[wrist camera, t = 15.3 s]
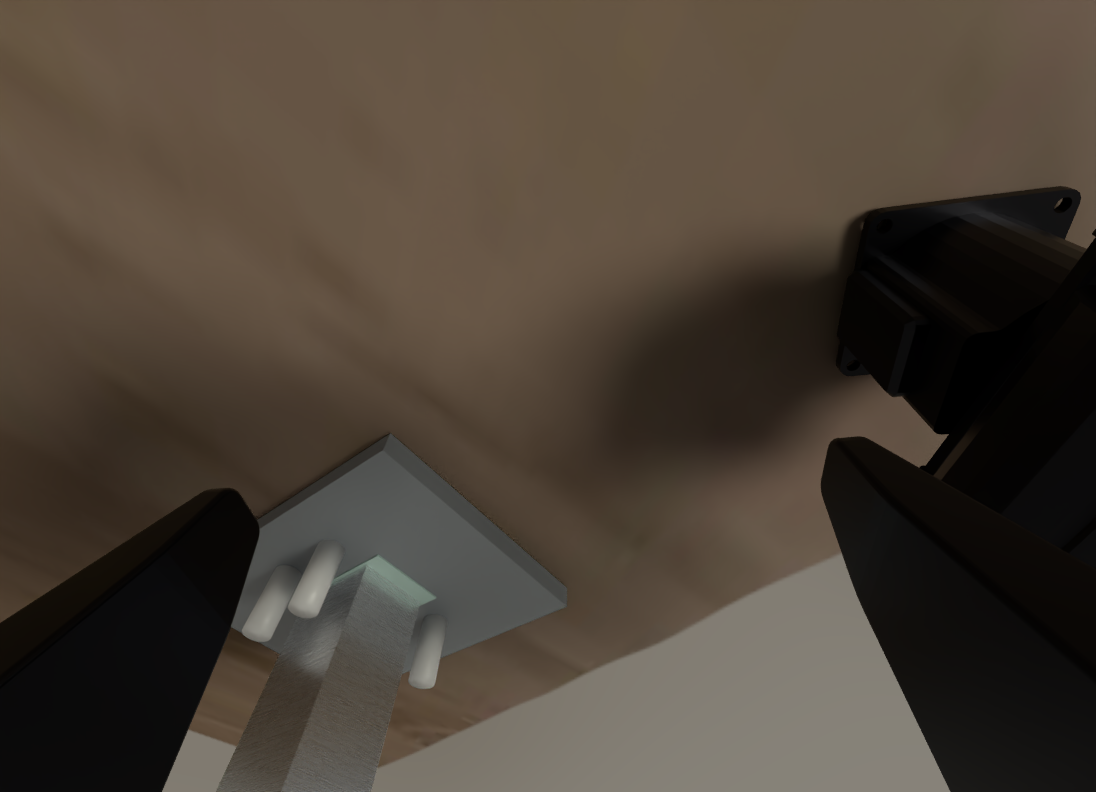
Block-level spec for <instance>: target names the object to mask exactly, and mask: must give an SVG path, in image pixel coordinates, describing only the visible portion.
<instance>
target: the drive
mask: <svg viewBox="0 0 1096 792" xmlns="http://www.w3.org/2000/svg"><path fill="white" fill-rule="evenodd" d="M419 606H420V602H419V601H417V600H416V599H414V598H413V597H412V596H410V595H409V594H407V593H406V592H405V591H403V590H402V589H400V588H399V587H398V586H396V585H395V584H393V583H392V582H391V581H389V580H388V579H386V578H385V577H384V576H382V575H381V574H379V573H378V572H377V571H375V570H374V569H372V568H371V567H370V566H368V565H366V566H364V567H362V568H360V569H358V570H356V571H354V572H352V573H350V574H349V575H347V576H345V577H343V578H341V579H339V580H337V581H335V582H333V583H331V586H330V588H329V590H328V593H327V595H326V597H325V600H324V602H323V604H322V606H321V609H320V611H319V613H318V615H317V616H316V617H314V618H301V617H298V616H297V618H296V620H295V622H294V625H293V627H292V629H291V631H290V633H289V635H288V638H287V640H286V642H285V644H284V646H283V648H282V650H281V653H280V655H279V657H278V659H277V661H276V663H275V665H274V668H273V670H272V672H271V674H270V676H269V678H268V681H267V683H266V685H265V687H264V689H263V691H262V693H261V696H260V698H259V700H258V702H257V704H256V706H255V709H254V711H253V713H252V715H251V717H250V719H249V721H248V724H247V726H246V728H245V730H244V732H243V734H242V737H241V739H240V741H239V743H238V745H237V747H236V749H235V752H234V754H233V756H232V758H231V760H230V762H229V765H228V767H227V769H226V771H225V773H224V775H223V777H222V780H221V782H220V784H219V786H218V788H217V790H216V792H371V789H372V785H373V782H374V778H375V774H376V771H377V767H378V763H379V759H380V755H381V751H382V748H383V744H384V740H385V736H386V732H387V728H388V724H389V721H390V717H391V713H392V709H393V705H394V701H395V698H396V694H397V690H398V686H399V682H400V678H401V675H402V671H403V667H404V663H405V659H406V655H407V652H408V648H409V644H410V640H411V636H412V632H413V629H414V625H415V621H416V617H417V613H418V609H419Z"/></svg>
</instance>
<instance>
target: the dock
mask: <svg viewBox="0 0 1096 792" xmlns="http://www.w3.org/2000/svg"><path fill="white" fill-rule="evenodd" d="M257 521H258V524H259V528H260V534H259V540H258V543H257V546H256V549H255V552H254V556H253V559H252V562H251V565H250V568H249V572H248V575H247V578H246V581H245V584H244V588H243V591H242V594H241V597H240V601H239V604H238V607H237V610H236V613H235V616H234V619H233V622H232V625H231V627H232V628H234V629H236V630H237V631H239V632H241V633H243V635H244V636H245V637H247V638H248V639H250V640H253V641H257V642H259V643H261V644H263V645H264V646H266V647H268V648H270V649H272V650H273V651H275V652H277V653H279V654H280V653H281V650H282V648H283V646H284V644H285V642H286V640H287V638H288V635H289V633H290V631H291V629H292V627H293V625H294V622H295V620H296V618H297V616H298V617H301V618H314V617H316V616H317V615H318V613H319V611H320V609H321V606H322V604H323V602H324V600H325V597H326V595H327V593H328V590H329V588H330V586H331V583H333V582H335V581H337V580H339V579H341V578H343V577H345V576H347V575H349V574H350V573H352V572H354V571H356V570H358V569H360V568H362V567H364V566H366V565H368V566H370V567H371V568H372V569H374V570H375V571H377V572H378V573H379V574H381V575H382V576H384V577H385V578H386V579H388V580H389V581H391V582H392V583H393V584H395V585H396V586H398V587H399V588H400V589H402V590H403V591H405V592H406V593H407V594H409V595H410V596H412V597H413V598H414V599H416V600H417V601H419V602H420V606H419V609H418V613H417V617H416V621H415V625H414V629H413V632H412V636H411V640H410V644H409V648H408V652H407V655H406V659H405V663H404V667H403V671H402V674H403V673H406V672H408V671H411V672H410V676H409V680H408V682H409V684H410V685H412V686H413V687H416V688H419V689H429V688H432V687H433V686H434V685H435V681H436V676H437V671H438V666H439V661H440V658H442V657H445V656H447V655H450V654H452V653H455V652H457V651H460V650H462V649H464V648H467V647H469V646H472V645H474V644H477V643H479V642H482V641H484V640H486V639H489V638H491V637H494V636H496V635H499V634H501V633H504V632H506V631H509V630H511V629H513V628H516V627H518V626H521V625H523V624H526V623H528V622H531V621H533V620H535V619H538V618H540V617H543V616H545V615H548V614H550V613H553V612H555V611H558V610H560V609H562V608H565V607H567V588H566V587H565V586H564V585H563V584H562V583H561V582H560V581H558V580H557V579H556V578H555V577H554V576H553V575H552V574H550V573H549V572H548V571H547V570H546V569H545V568H544V567H542V566H541V565H540V564H539V563H538V562H537V561H536V560H534V559H533V558H532V557H531V556H530V555H529V554H528V553H526V552H525V551H524V550H523V549H522V548H521V547H520V546H519V545H517V544H516V543H515V542H514V541H513V540H512V539H511V538H509V537H508V536H507V535H506V534H505V533H504V532H503V531H501V530H500V529H499V528H498V527H497V526H496V525H495V524H493V523H492V522H491V521H490V520H489V519H488V518H487V517H485V516H484V515H483V514H482V513H481V512H480V511H479V510H477V509H476V508H475V507H474V506H473V505H472V504H471V503H470V502H468V501H467V500H466V499H465V498H464V497H463V496H462V495H460V494H459V493H458V492H457V491H456V490H455V489H454V488H452V487H451V486H450V485H449V484H448V483H447V482H446V481H444V480H443V479H442V478H441V477H440V476H439V475H438V474H436V473H435V472H434V471H433V470H432V469H431V468H430V467H428V466H427V465H426V464H425V463H424V462H423V461H422V460H421V459H419V458H418V457H417V456H416V455H415V454H414V453H413V452H411V451H410V450H409V449H408V448H407V447H406V446H405V445H403V444H402V443H401V442H400V441H399V440H398V439H397V438H395V437H394V436H393V435H392V434H391V433H390V434H388V435H387V436H385V437H384V438H382V439H381V440H379V441H378V442H376V443H375V444H373V445H371V446H370V447H368V448H367V449H365V450H364V451H362V452H361V453H359V454H358V455H356V456H355V457H353V458H352V459H350V460H348V461H347V462H345V463H344V464H342V465H341V466H339V467H338V468H336V469H335V470H333V471H332V472H330V473H329V474H327V475H325V476H324V477H322V478H321V479H319V480H318V481H316V482H315V483H313V484H312V485H310V486H309V487H307V488H305V489H304V490H302V491H301V492H299V493H298V494H296V495H295V496H293V497H292V498H290V499H289V500H287V501H286V502H284V503H282V504H281V505H279V506H278V507H276V508H275V509H273V510H272V511H270V512H269V513H267V514H266V515H264V516H262V517H261V518H259V519H258V520H257Z"/></svg>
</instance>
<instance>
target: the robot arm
mask: <svg viewBox="0 0 1096 792" xmlns="http://www.w3.org/2000/svg"><path fill="white" fill-rule="evenodd" d="M1062 198H1063V199H1062ZM1060 199H1062V202H1061V204H1060V205H1059V206H1058V207H1056V208H1055V209H1054V206H1055V205H1056V203H1057V202H1058V201H1059V200H1060ZM1080 200H1081V195H1080V192H1078V191H1077V190H1075V189H1072V188H1068V187H1063V186H1058V187H1050V188H1042V189H1034V190H1025V191H1017V192H1009V193H1001V194H993V195H984V196H976V197H968V198H960V199H952V200H943V201H935V202H927V203H919V204H911V205H902V206H894V207H886V208H880V209H877V210H875V211H873V212H872V213H870V214H869V216H868V217H867V218H866V220H865V222H864V225H863V229H862V234H861V239H860V244H859V249H858V254H857V259H856V264H855V269H854V271H853V272H852V273H851V274H850V276H849V277H848V280H847V285H846V290H845V295H844V300H843V305H842V311H841V316H840V321H839V326H838V331H837V337H838V338H839V339H840V344H839V349H838V354H837V359H836V366H837V367H838V369H839V370H840V371H841V373H842V374H844V375H846V376H857V375H868V374H871V375H872V377H873V378H874V379H875V380H876V381H877V382H878V383H879V385H880V386H881V387H882V388H883V389H884V390H885V391H886V392H887V393H888V394H889V395H890V396H892V397H900V396H902V397H903V398H904V399H905V400H906V401H907V402H908V403H909V404H910V406H911V407H912V408H913V409H914V410H915V411H916V412H917V413H918V414H919V415H920V416H921V418H922V419H923V420H924V421H925V422H926V423H927V424H928V425H929V426H930V427H931V429H932V430H933V431H934V432H935V433H937V434H949V435H948V436H947V438H946V439H945V440H944V442H943V443H942V444H941V446H940V447H939V448H938V450H937V451H936V452H935V454H934V455H933V457H932V458H931V459H930V461H929V462H928V463H927V465H926V466H921V467H920V468H918V467H917V466H915V465H913V464H911V463H910V462H908V461H906V460H904V459H903V458H901V457H899V456H897V455H896V454H894V453H892V452H890V451H889V450H887V449H885V448H883V447H882V446H880V445H878V444H876V443H875V442H873V441H871V440H869V439H867V438H865V437H846V438H836V439H834V440H832V441H831V442H830V444H829V446H828V450H827V455H826V459H825V464H824V469H823V474H822V478H821V492H822V497H823V500H824V503H825V506H826V509H827V512H828V514H829V517H830V520H831V523H832V526H833V529H834V532H835V535H836V538H837V540H838V543H839V546H840V549H841V552H842V555H843V558H844V561H845V564H846V566H847V569H848V572H849V575H850V578H851V581H852V583H853V586H854V589H855V591H856V594H857V597H858V599H859V601H860V603H861V606H862V608H863V610H864V612H865V614H866V616H867V619H868V621H869V623H870V625H871V627H872V629H873V631H874V633H875V635H876V637H877V639H878V641H879V644H880V646H881V648H882V650H883V651H884V654H885V656H886V658H887V660H888V662H889V664H890V667H891V668H892V671H893V673H894V675H895V677H896V679H897V681H898V683H899V685H900V687H901V689H902V691H903V694H904V696H905V698H906V700H907V702H908V704H909V706H910V708H911V710H912V712H913V715H914V717H915V719H916V721H917V723H918V725H919V727H920V729H921V731H922V733H923V735H924V737H925V740H926V742H927V744H928V746H929V748H930V750H931V752H932V754H933V756H934V758H935V760H936V763H937V765H938V767H939V769H940V771H941V773H942V775H943V777H944V779H945V781H946V783H947V785H948V787H949V790H950V791H951V792H1096V238H1095V239H1094V240H1093V242H1092V243H1091V244H1090V246H1089V247H1088V248H1087V249H1086V248H1083V247H1081V246H1079V245H1076V244H1074V243H1071V242H1069V241H1067V240H1065V237H1066V235H1067V233H1068V230H1069V228H1070V226H1071V223H1072V221H1073V218H1074V216H1075V214H1076V211H1077V209H1078V206H1079V204H1080ZM884 219H887V223H886V225H885V226H884V227H883V228H882V229H880V230H877V229H876V227H877V225H878V223H879V222H880V221H882V220H884ZM1092 235H1094V236H1096V229H1095V230H1094V232H1093V233H1092ZM852 360H855V362H854V363H853V364H852V365H849V366H847V364H848V363H849V362H850V361H852ZM259 534H260V528H259V524H258V521H257V520H256V518H255V516H254V515H253V513H252V512H251V510H250V509H249V507H248V506H247V504H246V503H245V501H244V500H243V498H242V496H241V495H240V494H239V492H238V491H236V490H235V489H232V488H220V489H210V490H206V491H203V492H202V493H200V494H198V495H197V496H195V497H194V498H192V499H191V500H189V501H188V502H186V503H185V504H183V505H182V506H180V507H178V508H177V509H175V510H174V511H172V512H171V513H169V514H168V515H166V516H165V517H163V518H161V519H160V520H158V521H157V522H155V523H154V524H152V525H151V526H149V527H148V528H146V529H144V530H143V531H141V532H140V533H138V534H137V535H135V536H134V537H132V538H131V539H129V540H128V541H126V542H124V543H123V544H121V545H120V546H118V547H117V548H115V549H114V550H112V551H111V552H109V553H107V554H106V555H104V556H103V557H101V558H100V559H98V560H97V561H95V562H94V563H92V564H90V565H89V566H87V567H86V568H84V569H83V570H81V571H80V572H78V573H77V574H75V575H74V576H72V577H70V578H69V579H67V580H66V581H64V582H63V583H61V584H60V585H58V586H57V587H55V588H53V589H52V590H50V591H49V592H47V593H46V594H44V595H43V596H41V597H40V598H38V599H36V600H35V601H33V602H32V603H30V604H29V605H27V606H26V607H24V608H23V609H21V610H20V611H18V612H16V613H15V614H13V615H12V616H10V617H9V618H7V619H6V620H4V621H3V622H1V623H0V792H162V790H163V788H164V785H165V783H166V781H167V779H168V776H169V774H170V771H171V769H172V767H173V764H174V762H175V760H176V757H177V755H178V752H179V750H180V748H181V745H182V743H183V740H184V738H185V736H186V733H187V731H188V729H189V726H190V724H191V722H192V719H193V717H194V714H195V712H196V710H197V707H198V705H199V703H200V700H201V698H202V696H203V693H204V691H205V688H206V686H207V684H208V681H209V679H210V677H211V674H212V672H213V669H214V667H215V665H216V662H217V660H218V658H219V655H220V653H221V650H222V648H223V646H224V643H225V641H226V638H227V636H228V633H229V631H230V628H231V625H232V622H233V619H234V616H235V613H236V610H237V607H238V604H239V601H240V597H241V594H242V591H243V588H244V584H245V581H246V578H247V575H248V572H249V568H250V565H251V562H252V559H253V556H254V552H255V549H256V546H257V543H258V540H259Z"/></svg>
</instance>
